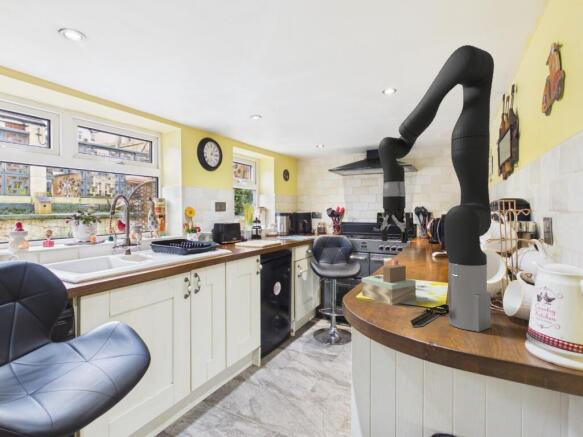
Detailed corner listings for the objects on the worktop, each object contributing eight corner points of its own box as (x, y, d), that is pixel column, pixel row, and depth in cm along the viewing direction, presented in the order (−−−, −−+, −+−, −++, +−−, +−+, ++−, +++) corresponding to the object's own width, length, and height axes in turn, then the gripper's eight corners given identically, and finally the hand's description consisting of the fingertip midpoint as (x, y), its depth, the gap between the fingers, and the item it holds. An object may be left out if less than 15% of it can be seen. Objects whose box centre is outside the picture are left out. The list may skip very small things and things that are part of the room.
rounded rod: (399, 290, 125) (399, 260, 125) (396, 291, 123) (395, 260, 123) (394, 289, 127) (394, 259, 127) (391, 289, 125) (390, 260, 125)
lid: (415, 284, 108) (415, 266, 108) (391, 289, 102) (391, 270, 102) (384, 277, 120) (384, 261, 120) (361, 281, 114) (361, 264, 114)
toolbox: (415, 301, 109) (415, 284, 108) (392, 307, 102) (391, 289, 102) (384, 293, 120) (384, 277, 120) (361, 298, 114) (361, 281, 114)
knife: (417, 331, 84) (417, 325, 84) (396, 324, 89) (395, 319, 89) (458, 311, 99) (458, 306, 99) (438, 306, 104) (438, 302, 104)
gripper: (371, 196, 112) (371, 241, 113) (403, 194, 100) (403, 244, 100) (385, 196, 116) (385, 240, 116) (418, 194, 104) (418, 243, 104)
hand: (394, 242), depth 108 cm, fingers open, 8 cm apart
